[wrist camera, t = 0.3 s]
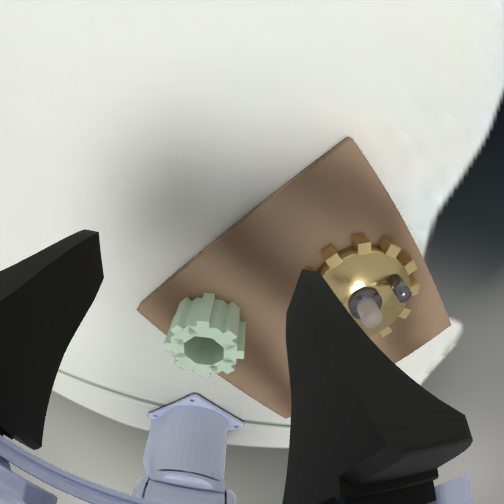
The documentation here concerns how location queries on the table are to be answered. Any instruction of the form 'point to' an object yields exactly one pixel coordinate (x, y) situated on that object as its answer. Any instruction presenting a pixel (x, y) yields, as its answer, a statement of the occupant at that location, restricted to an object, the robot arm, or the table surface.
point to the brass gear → (371, 278)
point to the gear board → (299, 268)
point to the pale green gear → (206, 335)
